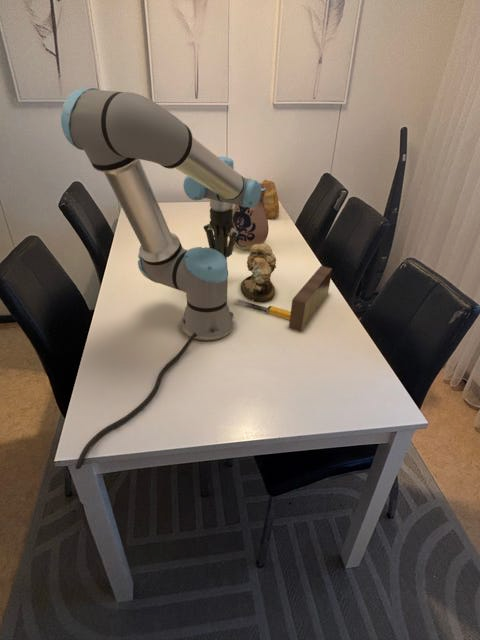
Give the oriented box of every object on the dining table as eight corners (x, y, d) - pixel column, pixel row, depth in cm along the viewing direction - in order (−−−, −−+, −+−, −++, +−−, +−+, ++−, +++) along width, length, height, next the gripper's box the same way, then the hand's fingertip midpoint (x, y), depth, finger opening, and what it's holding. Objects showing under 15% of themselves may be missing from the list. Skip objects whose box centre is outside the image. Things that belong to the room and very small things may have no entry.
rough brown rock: (245, 207, 216) (243, 179, 207) (274, 204, 216) (274, 177, 208) (247, 223, 197) (246, 193, 189) (280, 220, 198) (280, 191, 189)
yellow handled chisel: (295, 317, 123) (295, 312, 122) (291, 321, 121) (292, 316, 120) (239, 300, 131) (239, 295, 130) (235, 304, 129) (235, 299, 128)
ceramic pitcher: (220, 250, 164) (220, 190, 150) (238, 233, 181) (239, 177, 167) (260, 257, 159) (264, 196, 146) (274, 239, 176) (279, 182, 162)
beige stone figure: (236, 278, 143) (237, 234, 134) (267, 277, 145) (270, 233, 136) (245, 304, 129) (248, 256, 119) (280, 301, 131) (285, 254, 121)
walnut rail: (301, 331, 117) (305, 303, 111) (288, 327, 118) (292, 299, 113) (327, 294, 136) (332, 268, 130) (316, 291, 137) (321, 265, 132)
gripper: (244, 208, 128) (241, 272, 141) (210, 201, 133) (211, 264, 146) (233, 214, 123) (231, 281, 136) (198, 207, 128) (200, 272, 141)
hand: (221, 272), depth 141 cm, fingers closed
